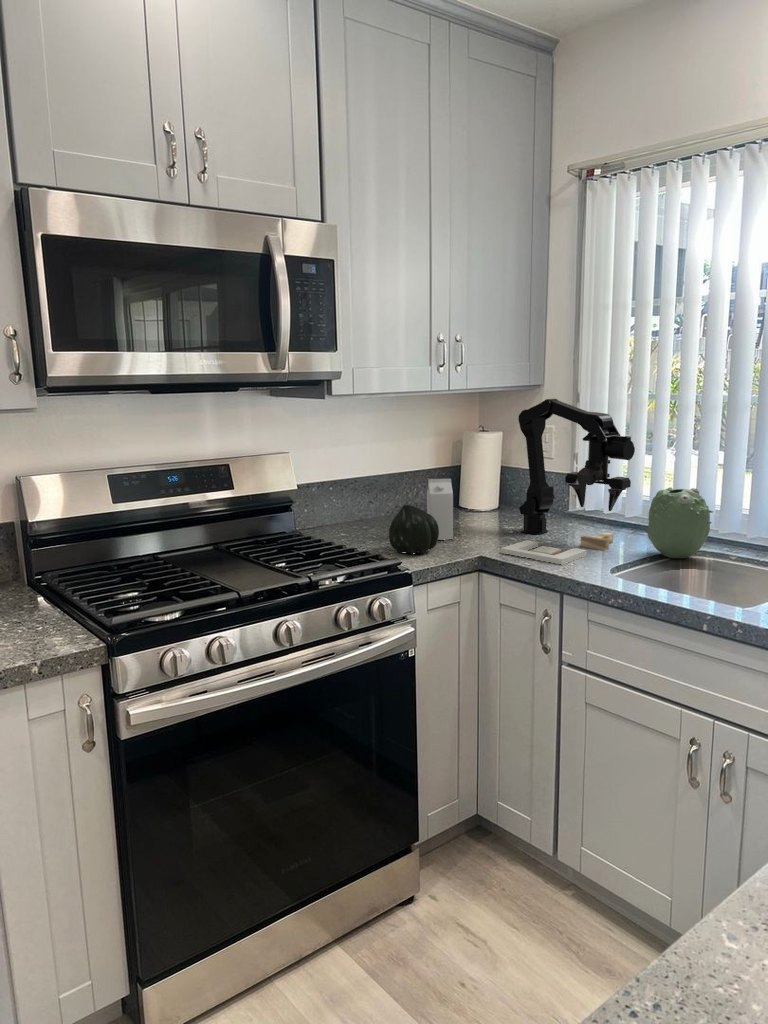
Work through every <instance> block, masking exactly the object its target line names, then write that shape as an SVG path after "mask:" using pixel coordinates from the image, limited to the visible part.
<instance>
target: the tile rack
mask: <svg viewBox="0 0 768 1024" xmlns="http://www.w3.org/2000/svg"><path fill="white" fill-rule="evenodd" d="M535 547H537V548H538V547H539V541H536V540H529V539H526V540H523V541H519V542H516V543H514V544H510V545H507V546H504V547H501V548H500V554H501V553H508V554H514V555H520V556H524V557H528V558H532V559H537V560H542V561H541V562H543V561H547V562H546V563H548V562H551V563H550V564H553V563H556V564H555V565H559V564H561V565H560V566H564V565H565V564H568V562H569V563H570V562H574V561H576V559H577V560H580V559H582V558H584V557H587V556H588V555H587V554H588V550H587V549H581V548H576V547H574V548H571V549H568V550H565V551H561V553H559V554H556V555H549V554H544V553H538V552H533V551H532V550H533V549H532V548H535ZM528 549H532V550H529V551H527V550H528ZM535 549H536V548H535ZM581 557H582V558H581ZM532 559H531V560H532ZM537 560H536V561H537ZM573 560H574V561H573Z"/></svg>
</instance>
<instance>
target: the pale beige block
mask: <svg viewBox="0 0 768 1024" xmlns="http://www.w3.org/2000/svg"><path fill="white" fill-rule="evenodd" d="M531 551H533V552H538V553H544V554H549V555H556V554H559V553H562V549H561V548H556V547H551V546H545V545H542V546H538V547H537V548H535V549H532V550H531Z"/></svg>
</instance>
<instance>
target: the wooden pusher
mask: <svg viewBox="0 0 768 1024" xmlns="http://www.w3.org/2000/svg"><path fill="white" fill-rule="evenodd" d="M613 543H614V533H611V532H602V533H600V534H597V535H594V536H588V535H582V536H580V547H582V546H583V547H582V548H589V549H594V550H600V551H607V550H609V547H610V546H609V545H611V544H613Z"/></svg>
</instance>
